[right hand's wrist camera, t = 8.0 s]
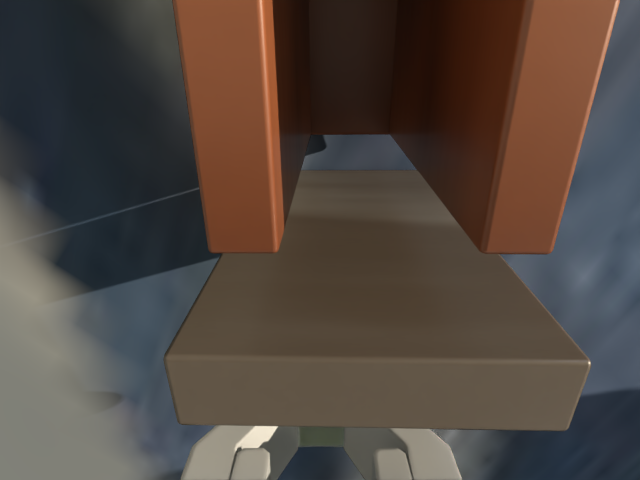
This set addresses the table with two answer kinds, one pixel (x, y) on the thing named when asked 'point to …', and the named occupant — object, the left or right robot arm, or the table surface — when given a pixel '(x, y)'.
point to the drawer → (383, 211)
